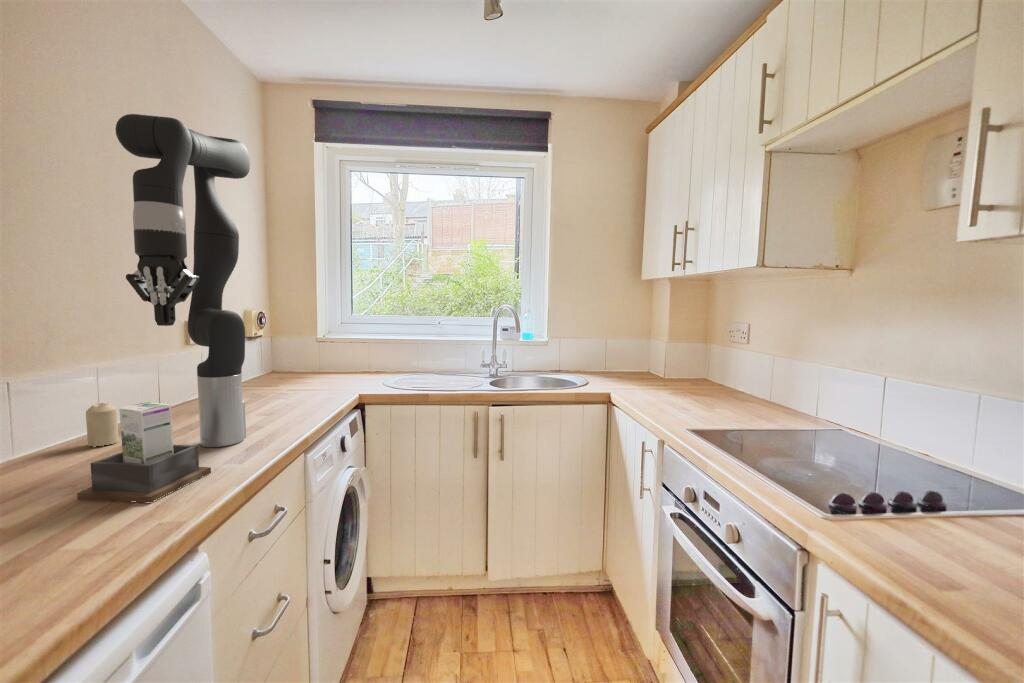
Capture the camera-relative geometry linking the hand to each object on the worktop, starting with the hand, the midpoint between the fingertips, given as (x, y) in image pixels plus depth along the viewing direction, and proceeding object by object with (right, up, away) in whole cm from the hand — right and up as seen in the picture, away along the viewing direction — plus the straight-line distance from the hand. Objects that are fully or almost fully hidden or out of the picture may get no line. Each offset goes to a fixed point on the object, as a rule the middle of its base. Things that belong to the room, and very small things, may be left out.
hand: (165, 325), depth 82 cm
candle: (-36, -28, +26) cm, 53 cm away
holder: (-6, -31, +3) cm, 31 cm away
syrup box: (-5, -30, +3) cm, 30 cm away
